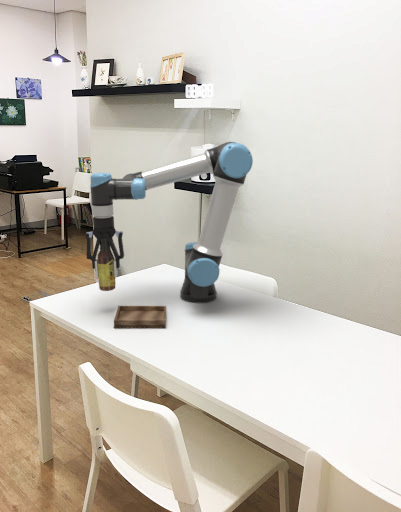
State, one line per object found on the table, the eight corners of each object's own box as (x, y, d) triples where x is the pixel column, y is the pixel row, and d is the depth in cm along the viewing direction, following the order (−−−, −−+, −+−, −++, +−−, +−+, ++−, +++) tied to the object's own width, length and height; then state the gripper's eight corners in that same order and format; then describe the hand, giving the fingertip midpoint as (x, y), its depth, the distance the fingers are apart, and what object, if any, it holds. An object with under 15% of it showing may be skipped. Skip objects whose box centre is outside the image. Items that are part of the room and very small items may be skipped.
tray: (166, 313, 186) (166, 305, 185) (165, 328, 172) (165, 320, 172) (118, 313, 185) (118, 305, 184) (114, 328, 172) (113, 320, 171)
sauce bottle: (114, 291, 182) (111, 240, 177) (97, 291, 182) (94, 240, 177) (117, 286, 189) (114, 235, 183) (101, 286, 189) (98, 235, 183)
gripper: (130, 213, 182) (133, 273, 188) (78, 214, 181) (82, 273, 187) (128, 217, 175) (131, 279, 181) (74, 218, 174) (79, 280, 180)
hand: (106, 276), depth 184 cm, fingers closed on sauce bottle, 6 cm apart
